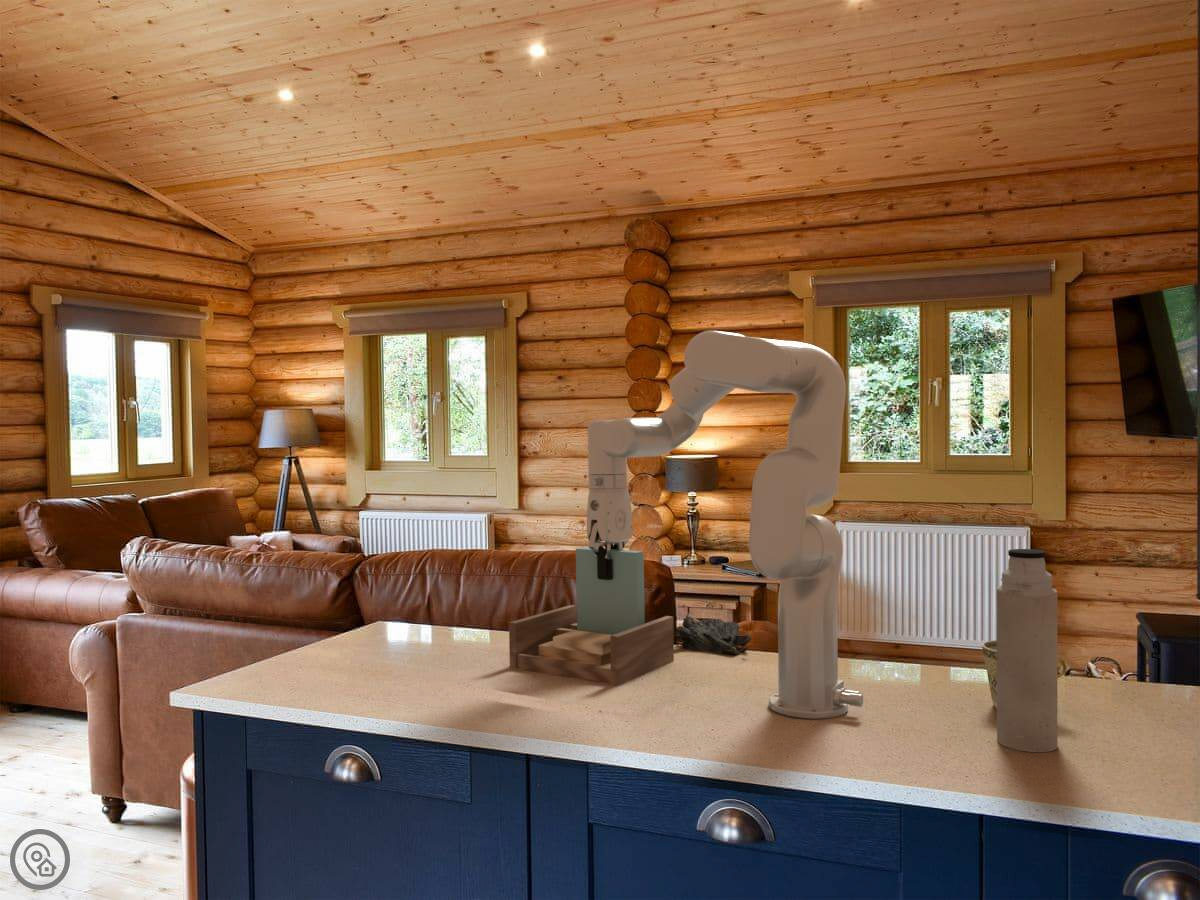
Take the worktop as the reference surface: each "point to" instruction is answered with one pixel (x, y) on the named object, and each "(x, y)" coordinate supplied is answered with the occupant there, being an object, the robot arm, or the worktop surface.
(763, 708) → the worktop surface
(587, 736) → the worktop surface
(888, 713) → the worktop surface
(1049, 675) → the thermos bottle
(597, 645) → the offcut stack
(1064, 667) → the ceramic cup
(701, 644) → the mineral specimen
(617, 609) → the teal sheet
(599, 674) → the walnut rack
